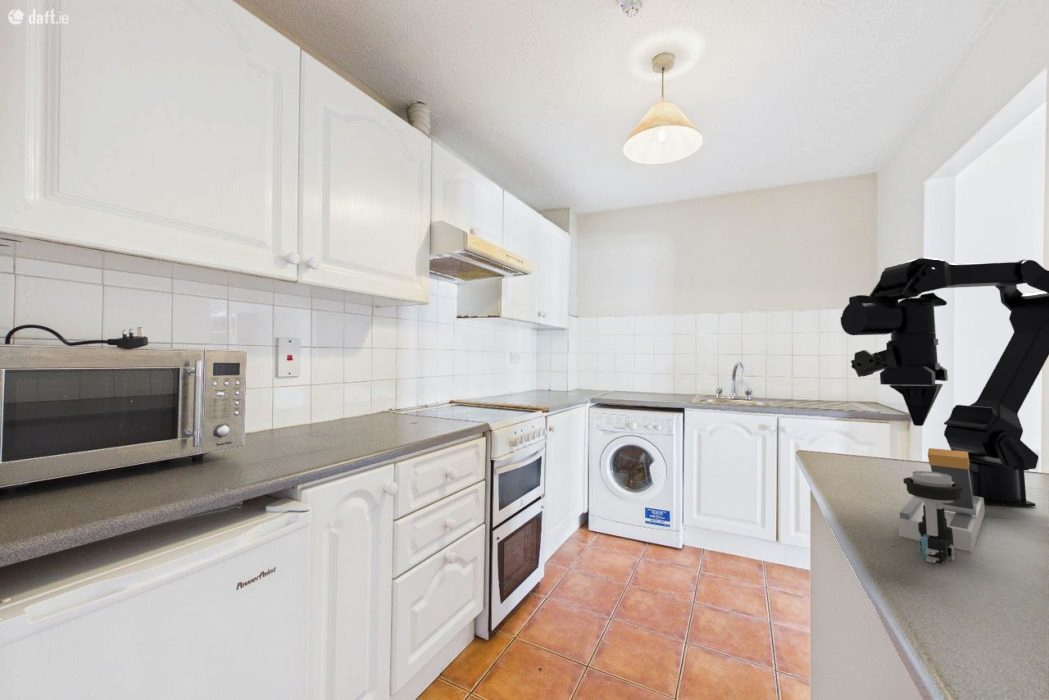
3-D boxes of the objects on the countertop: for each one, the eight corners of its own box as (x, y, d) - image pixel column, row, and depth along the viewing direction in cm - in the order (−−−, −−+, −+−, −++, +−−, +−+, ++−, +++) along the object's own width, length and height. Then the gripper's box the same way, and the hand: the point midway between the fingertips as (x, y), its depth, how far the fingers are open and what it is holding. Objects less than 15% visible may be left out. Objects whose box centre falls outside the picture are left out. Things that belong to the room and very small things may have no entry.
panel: (923, 503, 72) (922, 483, 72) (984, 513, 66) (983, 492, 66) (899, 536, 59) (897, 511, 59) (972, 552, 54) (970, 525, 54)
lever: (937, 503, 62) (927, 447, 60) (976, 510, 59) (969, 451, 57) (935, 511, 61) (926, 454, 59) (976, 518, 58) (968, 458, 56)
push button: (961, 574, 48) (955, 484, 49) (900, 558, 52) (894, 476, 53) (971, 557, 52) (965, 474, 53) (913, 543, 56) (908, 467, 57)
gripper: (867, 338, 85) (872, 417, 85) (839, 336, 73) (845, 427, 73) (945, 334, 77) (951, 421, 76) (928, 330, 65) (935, 434, 64)
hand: (918, 425), depth 72 cm, fingers closed
